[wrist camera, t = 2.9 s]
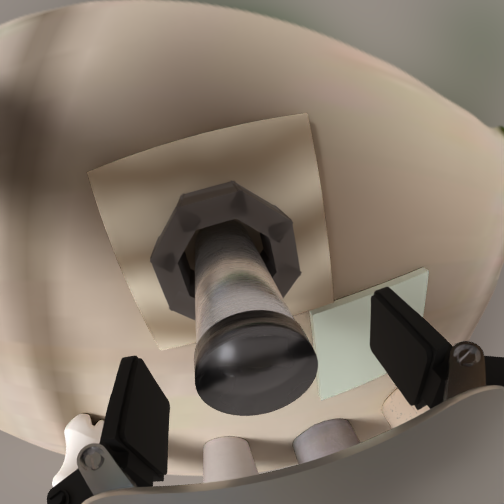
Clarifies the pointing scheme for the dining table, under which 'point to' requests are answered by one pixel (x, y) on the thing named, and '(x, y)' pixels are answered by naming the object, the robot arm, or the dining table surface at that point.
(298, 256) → the block
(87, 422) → the water bottle
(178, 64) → the dining table surface
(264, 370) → the steel peg
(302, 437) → the pillar candle
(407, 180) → the dining table surface
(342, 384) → the sage pad
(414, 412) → the teacup with lid
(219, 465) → the coffee cup
